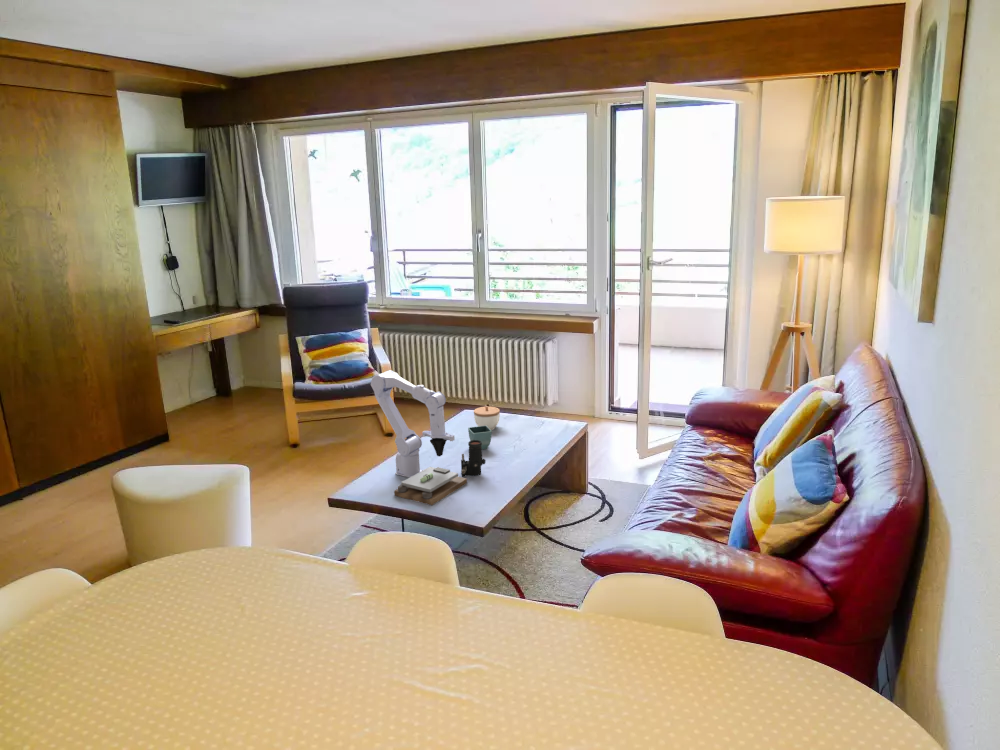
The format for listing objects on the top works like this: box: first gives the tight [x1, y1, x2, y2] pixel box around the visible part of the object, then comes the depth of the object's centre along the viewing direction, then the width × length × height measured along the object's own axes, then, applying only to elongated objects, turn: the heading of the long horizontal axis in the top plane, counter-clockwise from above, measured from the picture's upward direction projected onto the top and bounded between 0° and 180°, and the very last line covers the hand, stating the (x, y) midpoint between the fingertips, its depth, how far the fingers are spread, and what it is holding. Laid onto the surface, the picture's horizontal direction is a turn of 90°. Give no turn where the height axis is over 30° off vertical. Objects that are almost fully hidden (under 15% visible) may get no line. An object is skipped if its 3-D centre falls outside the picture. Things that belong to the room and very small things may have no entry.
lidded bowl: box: [473, 405, 501, 431], centre depth 343 cm, size 13×13×11 cm
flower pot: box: [467, 425, 493, 450], centre depth 318 cm, size 9×9×9 cm
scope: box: [460, 440, 486, 478], centre depth 289 cm, size 8×14×10 cm
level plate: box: [400, 466, 459, 492], centre depth 275 cm, size 14×18×3 cm
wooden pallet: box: [393, 476, 468, 506], centre depth 277 cm, size 18×23×4 cm
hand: (439, 455), depth 283 cm, fingers closed
